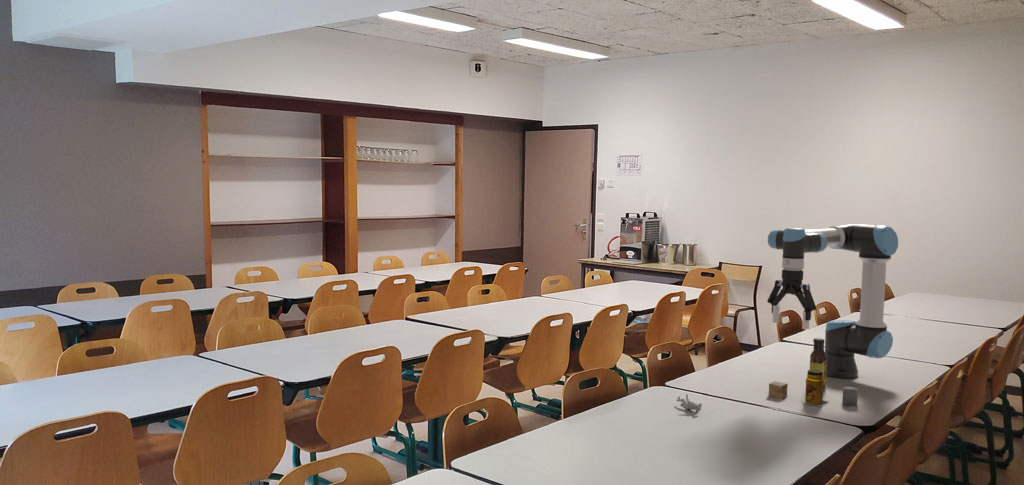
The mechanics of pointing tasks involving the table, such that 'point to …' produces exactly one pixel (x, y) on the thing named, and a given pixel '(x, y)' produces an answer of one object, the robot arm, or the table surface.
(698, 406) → the soldier figure
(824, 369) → the sauce bottle
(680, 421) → the table surface
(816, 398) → the condiment
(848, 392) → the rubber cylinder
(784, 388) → the walnut block
